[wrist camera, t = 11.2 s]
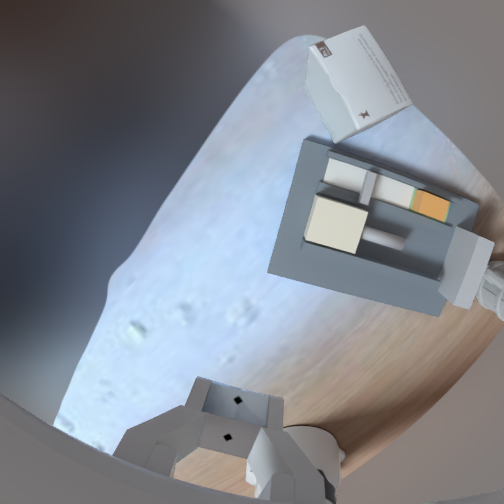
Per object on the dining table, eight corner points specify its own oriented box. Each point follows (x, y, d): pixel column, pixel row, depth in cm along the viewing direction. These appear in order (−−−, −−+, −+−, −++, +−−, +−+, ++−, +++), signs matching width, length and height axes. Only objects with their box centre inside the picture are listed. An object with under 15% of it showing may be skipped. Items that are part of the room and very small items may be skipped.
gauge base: (435, 313, 41) (456, 336, 34) (267, 269, 41) (264, 290, 34) (475, 204, 36) (504, 212, 29) (303, 140, 37) (307, 134, 30)
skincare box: (372, 126, 35) (420, 107, 21) (331, 146, 37) (360, 134, 22) (340, 69, 34) (369, 21, 19) (298, 87, 35) (307, 44, 21)
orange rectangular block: (435, 218, 36) (443, 221, 34) (410, 209, 36) (418, 212, 34) (441, 199, 35) (449, 202, 33) (416, 189, 35) (424, 191, 33)
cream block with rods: (391, 259, 38) (399, 266, 35) (303, 234, 38) (305, 239, 35) (414, 188, 35) (423, 190, 32) (325, 158, 36) (328, 157, 33)
